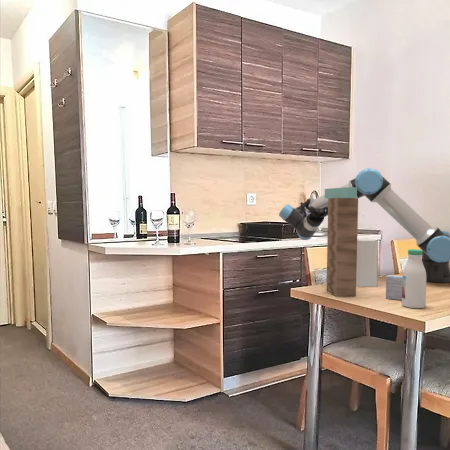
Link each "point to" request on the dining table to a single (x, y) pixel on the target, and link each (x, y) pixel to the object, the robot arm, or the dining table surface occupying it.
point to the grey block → (367, 263)
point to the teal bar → (341, 192)
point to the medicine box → (394, 287)
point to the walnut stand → (342, 246)
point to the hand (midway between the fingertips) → (329, 196)
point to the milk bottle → (414, 281)
